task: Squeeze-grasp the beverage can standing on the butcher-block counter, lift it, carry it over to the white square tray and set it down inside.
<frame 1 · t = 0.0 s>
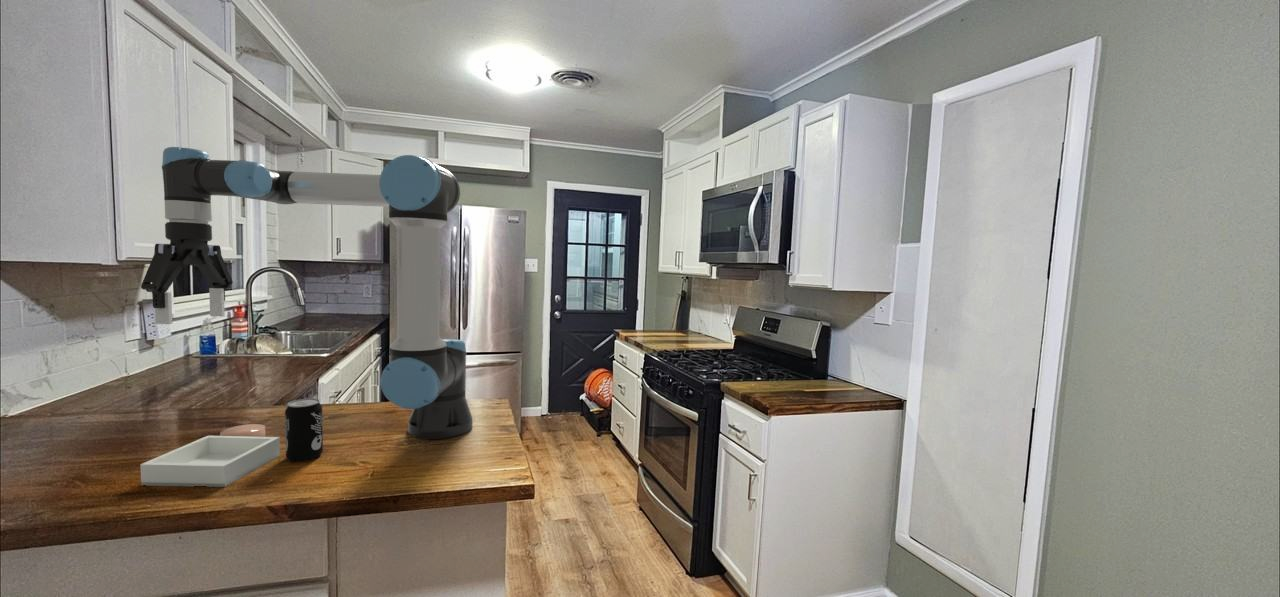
hand: (192, 320, 110), 28 cm above the counter, fingers open, 13 cm apart
beverage can: (304, 457, 108), on the counter
white square tray: (216, 469, 100), on the counter
pink shiny round part: (243, 442, 114), on the counter
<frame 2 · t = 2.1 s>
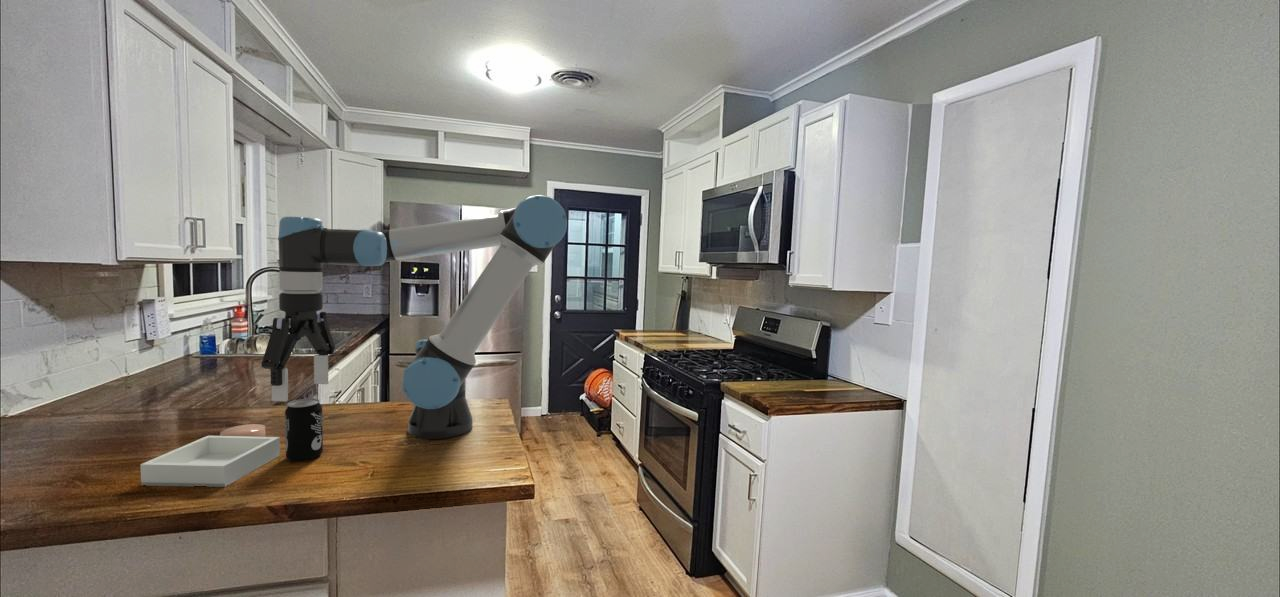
hand: (301, 391, 106), 14 cm above the counter, fingers open, 13 cm apart
nothing on the counter moved.
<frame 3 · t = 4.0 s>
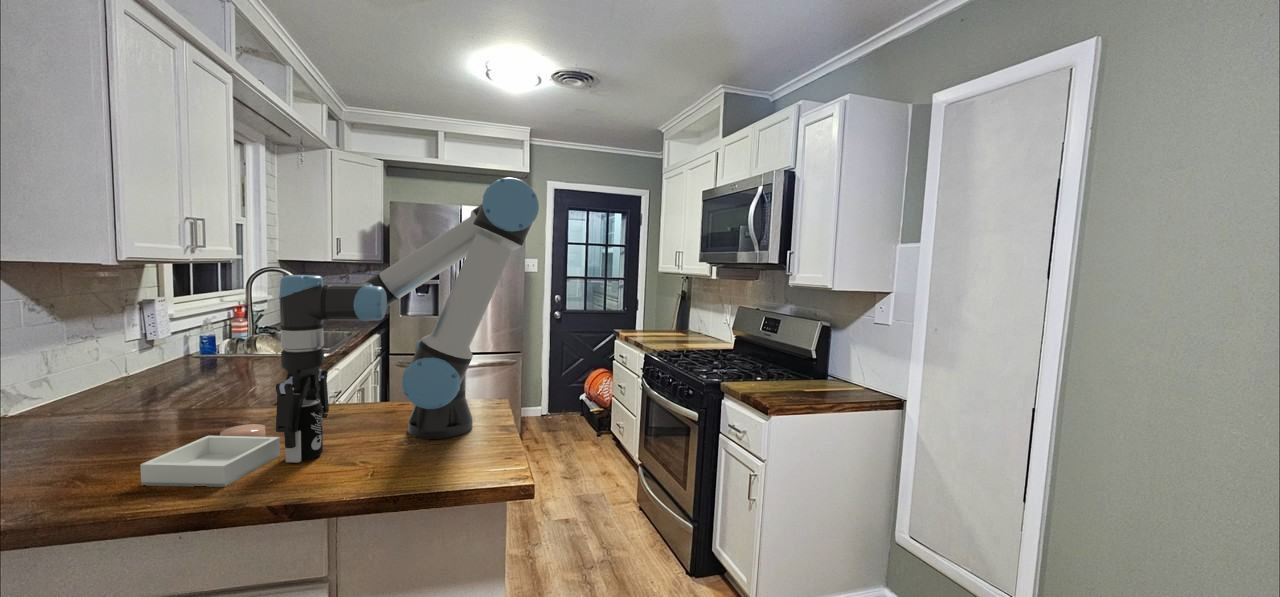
hand: (304, 454, 108), 0 cm above the counter, fingers closed on beverage can, 7 cm apart
beverage can: (304, 457, 108), on the counter, touching gripper
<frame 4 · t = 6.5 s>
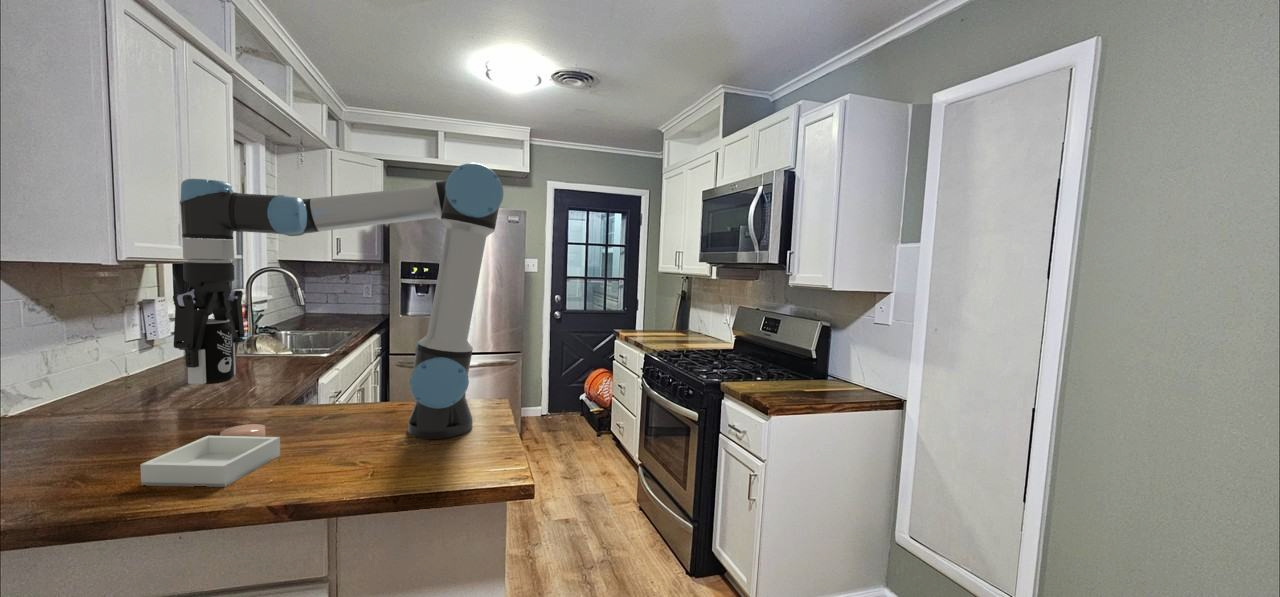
hand: (213, 378, 99), 18 cm above the counter, fingers closed on beverage can, 7 cm apart
beverage can: (212, 382, 99), point 18 cm above the counter, touching gripper
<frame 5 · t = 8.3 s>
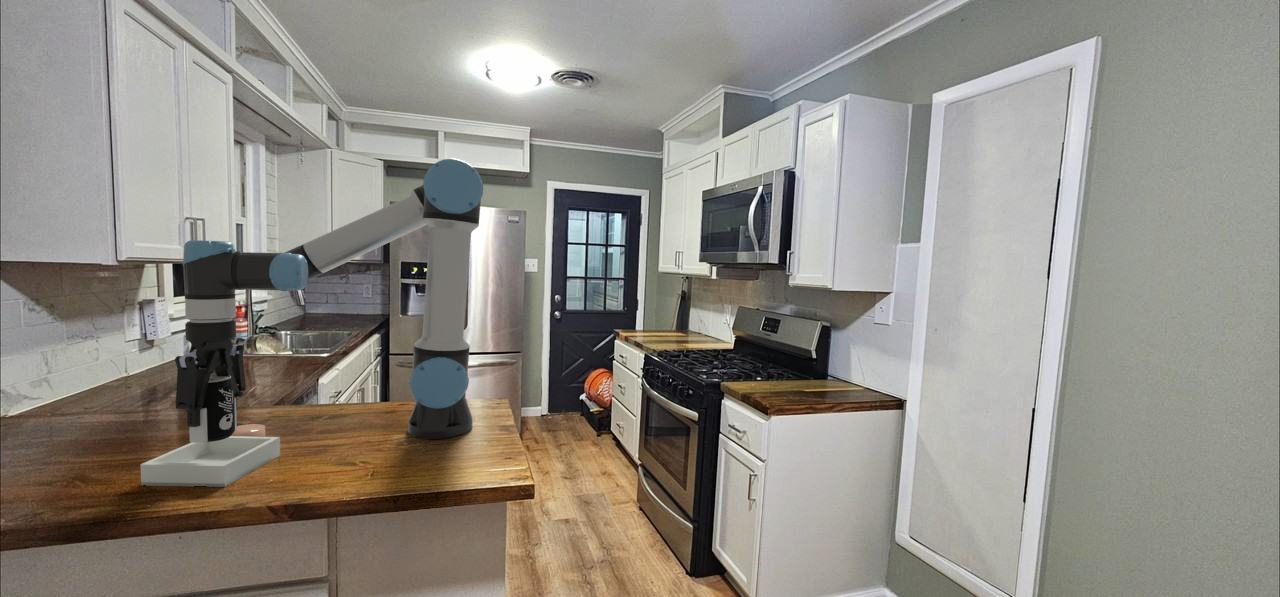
hand: (214, 435, 100), 7 cm above the counter, fingers closed on beverage can, 7 cm apart
beverage can: (214, 438, 100), point 6 cm above the counter, touching gripper
when the fingers open (4 cm above the counter, at t = 9.4 s): beverage can drops 3 cm, resting on white square tray.
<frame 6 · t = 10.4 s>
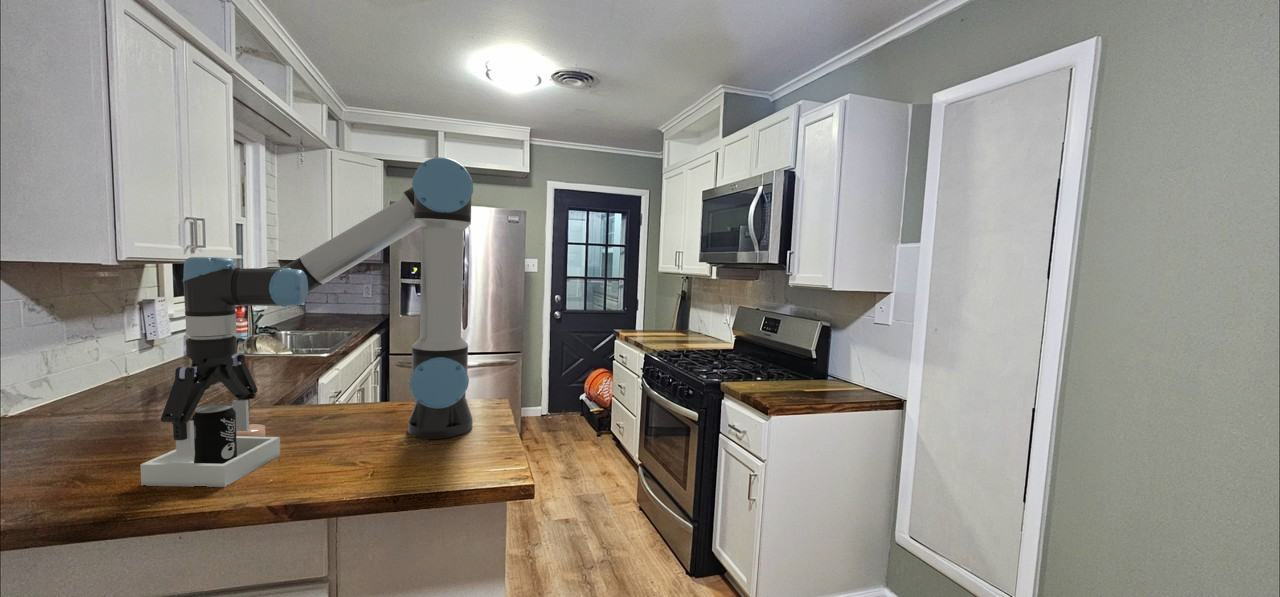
hand: (215, 442, 100), 6 cm above the counter, fingers open, 13 cm apart
beverage can: (216, 467, 100), resting on white square tray
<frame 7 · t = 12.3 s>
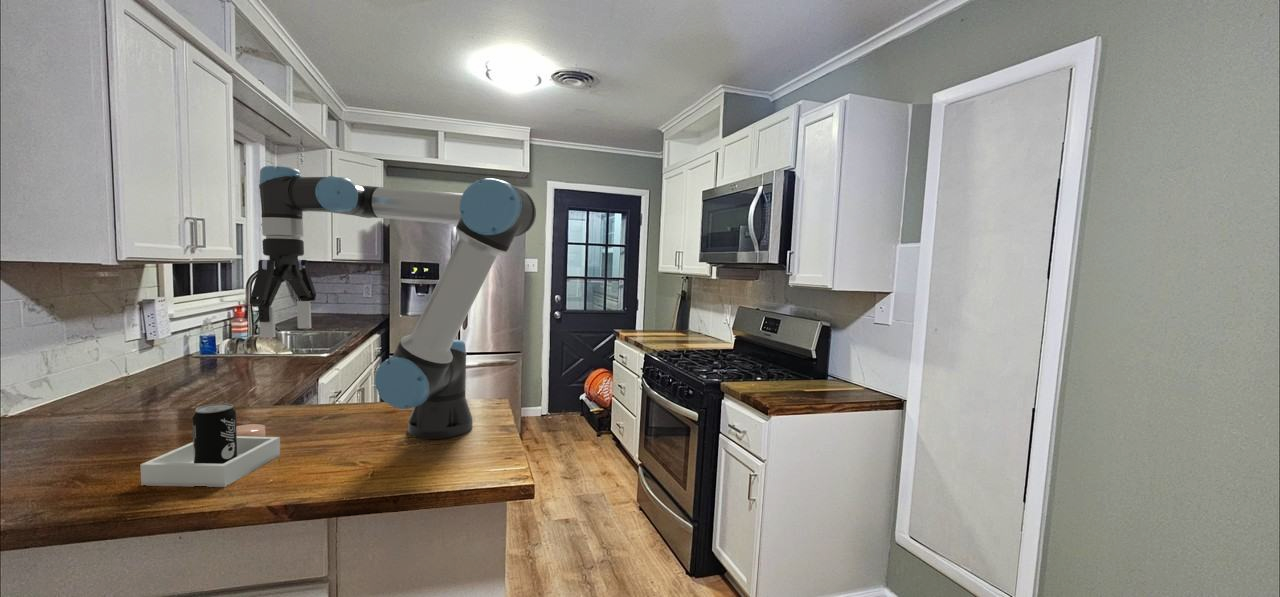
hand: (287, 332, 114), 25 cm above the counter, fingers open, 13 cm apart
nothing on the counter moved.
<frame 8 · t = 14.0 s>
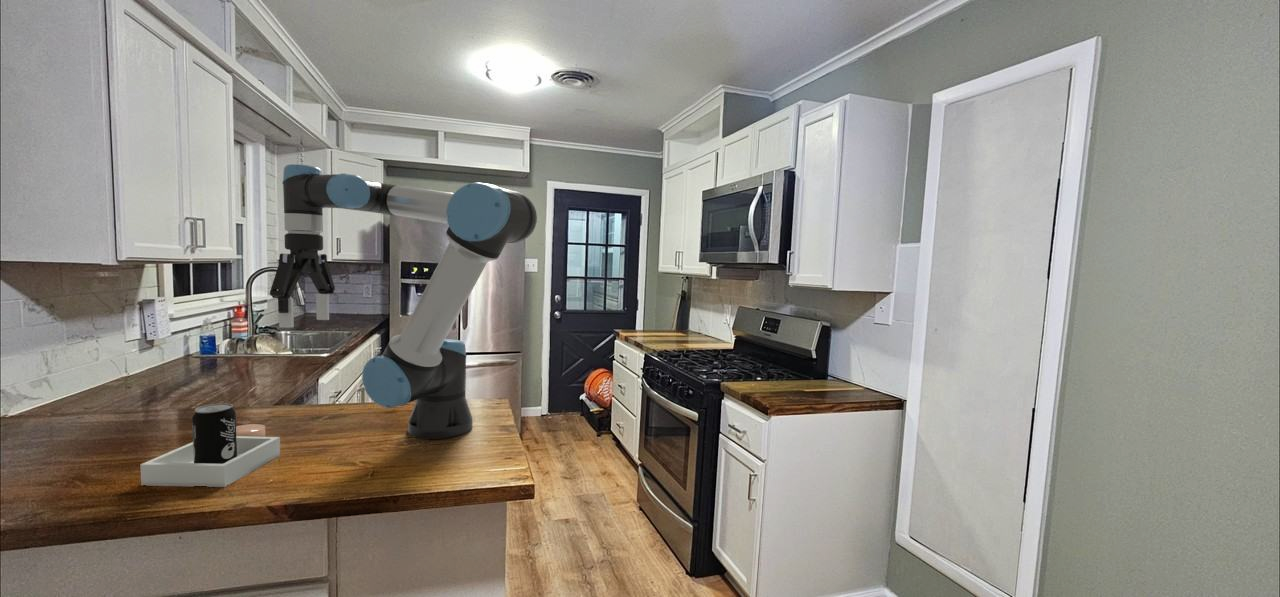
hand: (305, 323, 119), 27 cm above the counter, fingers open, 13 cm apart
nothing on the counter moved.
at the end: beverage can inside the target area on the white square tray (0.0 cm from its centre), point 0.4 cm above the white square tray's base; beverage can tilted 0°; the gripper is holding nothing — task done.
